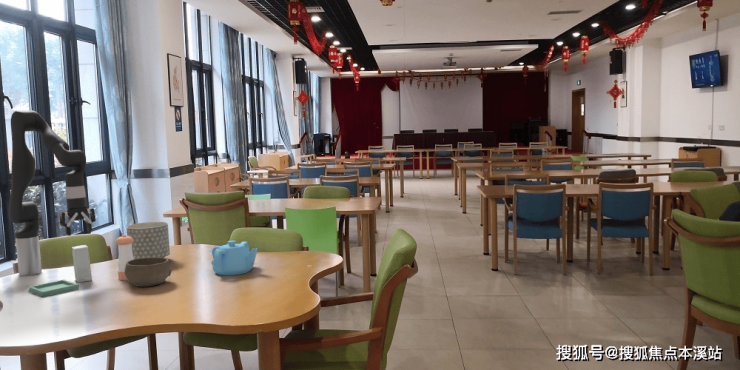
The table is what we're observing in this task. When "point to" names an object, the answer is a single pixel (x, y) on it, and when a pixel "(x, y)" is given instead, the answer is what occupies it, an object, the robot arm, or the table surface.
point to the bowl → (147, 271)
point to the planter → (149, 239)
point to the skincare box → (81, 263)
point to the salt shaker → (124, 254)
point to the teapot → (233, 258)
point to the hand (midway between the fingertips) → (79, 233)
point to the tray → (53, 288)
